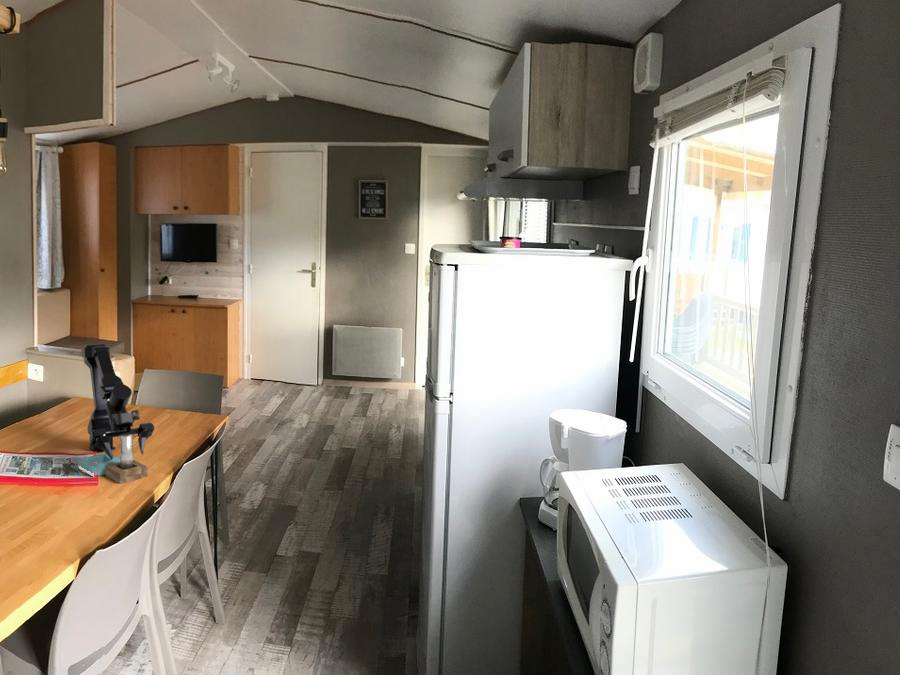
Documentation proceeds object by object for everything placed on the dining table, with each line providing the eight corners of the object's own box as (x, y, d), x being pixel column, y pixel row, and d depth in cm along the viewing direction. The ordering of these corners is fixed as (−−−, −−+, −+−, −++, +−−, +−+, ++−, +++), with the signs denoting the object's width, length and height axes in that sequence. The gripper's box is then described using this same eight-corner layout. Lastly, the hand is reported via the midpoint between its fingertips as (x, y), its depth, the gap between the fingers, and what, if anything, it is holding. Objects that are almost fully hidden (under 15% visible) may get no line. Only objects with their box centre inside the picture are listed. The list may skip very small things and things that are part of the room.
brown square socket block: (132, 469, 222) (132, 459, 221) (147, 476, 216) (147, 466, 216) (105, 476, 214) (105, 465, 214) (120, 483, 209) (120, 473, 209)
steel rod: (129, 473, 218) (129, 432, 216) (134, 476, 216) (134, 435, 214) (118, 476, 215) (118, 435, 213) (124, 479, 213) (123, 437, 211)
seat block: (107, 462, 226) (107, 452, 226) (123, 469, 220) (123, 459, 220) (77, 469, 218) (77, 459, 218) (92, 477, 212) (92, 467, 212)
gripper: (91, 405, 209) (100, 449, 202) (152, 399, 221) (163, 440, 214) (85, 423, 216) (94, 465, 209) (145, 416, 228) (155, 455, 221)
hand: (127, 456), depth 213 cm, fingers open, 9 cm apart
